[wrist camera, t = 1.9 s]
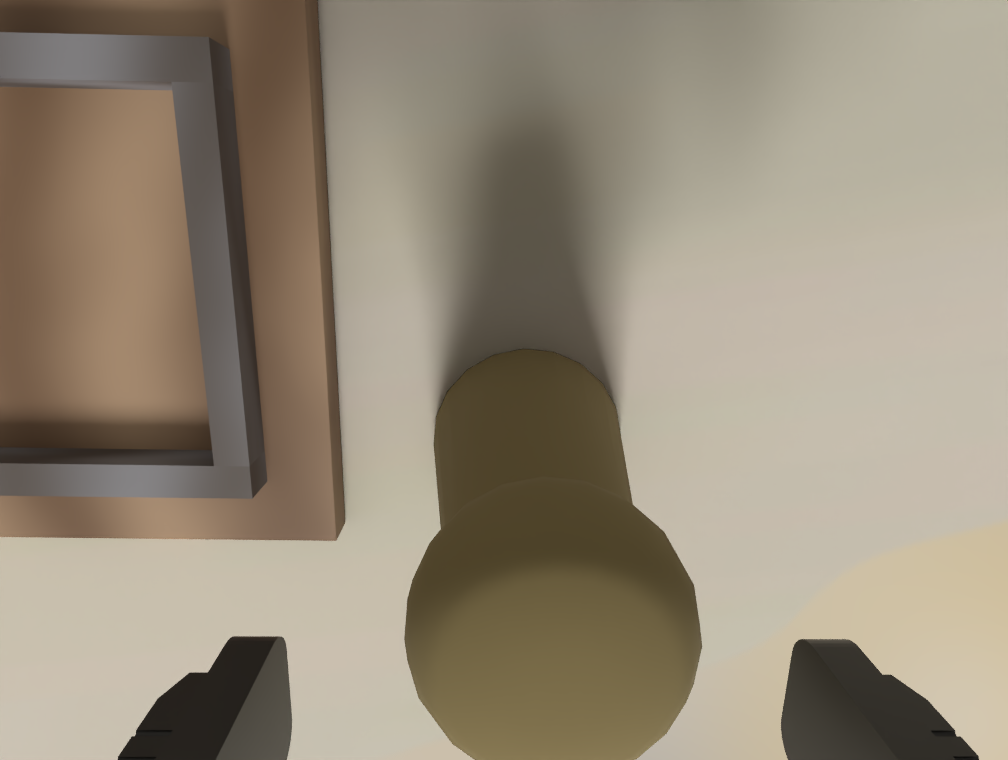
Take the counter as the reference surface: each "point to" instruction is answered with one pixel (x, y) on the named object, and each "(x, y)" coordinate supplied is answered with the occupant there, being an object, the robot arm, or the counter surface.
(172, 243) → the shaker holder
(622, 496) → the cork
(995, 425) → the counter surface
